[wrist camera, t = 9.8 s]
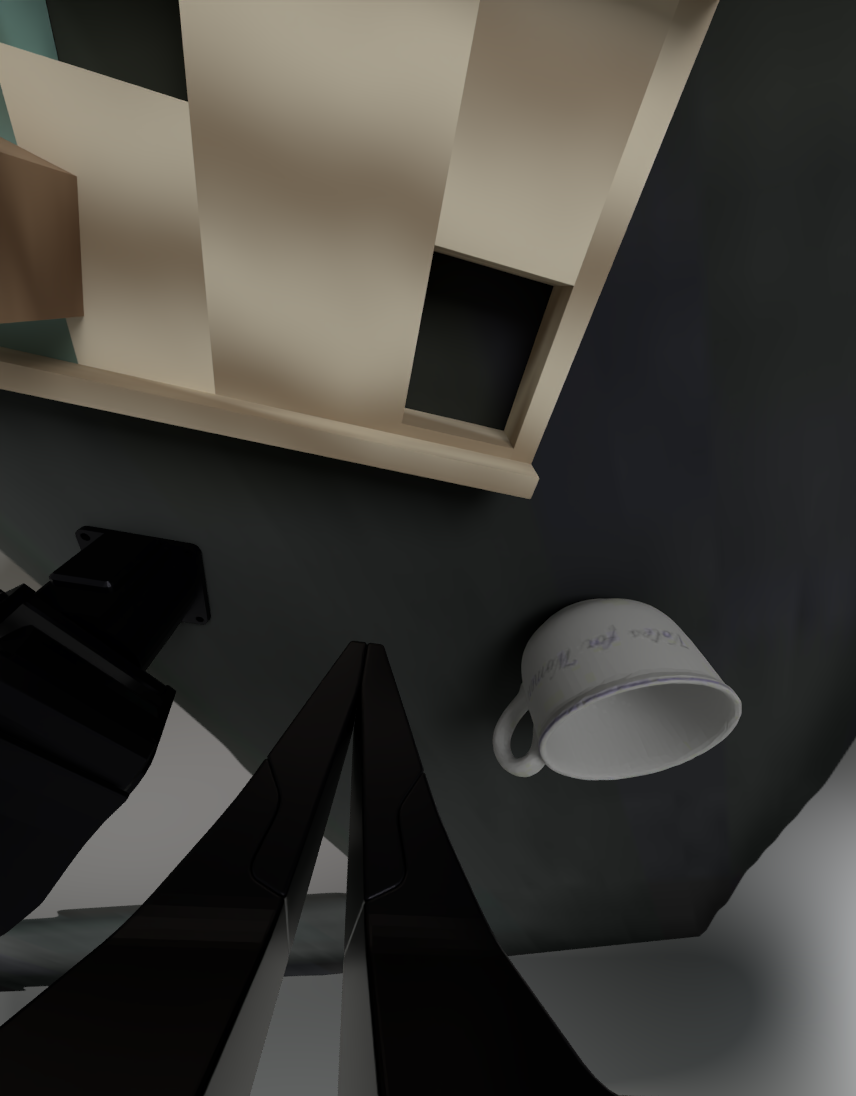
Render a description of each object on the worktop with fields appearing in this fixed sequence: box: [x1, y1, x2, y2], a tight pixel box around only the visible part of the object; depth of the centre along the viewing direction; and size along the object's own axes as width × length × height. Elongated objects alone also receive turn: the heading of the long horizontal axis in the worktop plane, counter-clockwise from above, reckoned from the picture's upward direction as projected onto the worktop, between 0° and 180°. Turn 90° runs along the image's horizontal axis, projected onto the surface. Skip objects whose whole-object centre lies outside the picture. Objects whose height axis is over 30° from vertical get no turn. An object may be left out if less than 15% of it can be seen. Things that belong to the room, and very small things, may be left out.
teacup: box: [493, 598, 741, 780], centre depth 24 cm, size 14×11×8 cm
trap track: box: [0, 0, 719, 499], centre depth 12 cm, size 15×26×4 cm, turn 77°
